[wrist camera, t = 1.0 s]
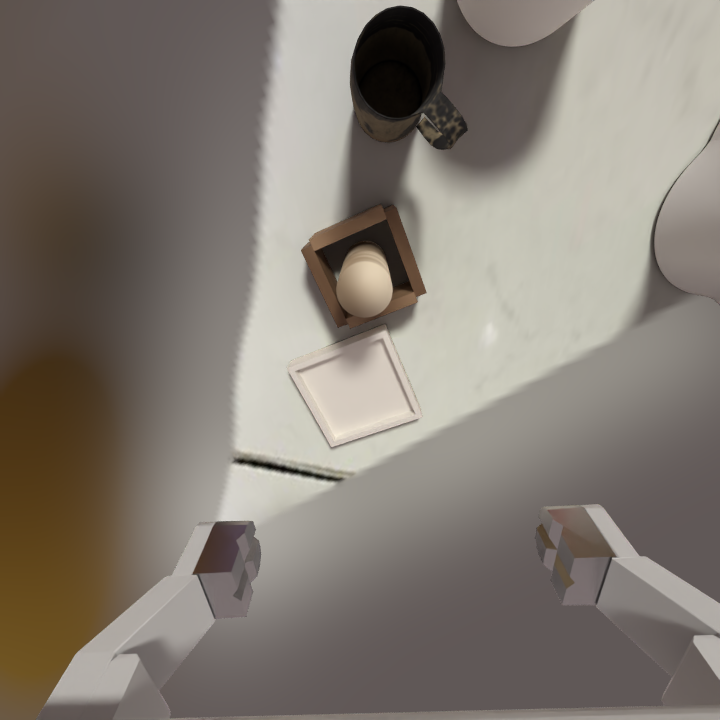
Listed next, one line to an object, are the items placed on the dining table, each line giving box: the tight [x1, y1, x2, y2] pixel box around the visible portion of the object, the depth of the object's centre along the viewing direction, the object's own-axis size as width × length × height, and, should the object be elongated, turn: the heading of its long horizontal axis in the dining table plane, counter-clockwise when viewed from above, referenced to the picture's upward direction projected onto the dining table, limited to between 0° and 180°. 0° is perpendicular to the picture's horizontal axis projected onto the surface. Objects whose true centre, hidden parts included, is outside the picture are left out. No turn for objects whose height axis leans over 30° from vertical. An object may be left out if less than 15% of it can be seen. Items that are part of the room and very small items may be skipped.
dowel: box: [336, 241, 393, 318], centre depth 31 cm, size 4×4×10 cm
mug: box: [350, 6, 468, 150], centre depth 25 cm, size 8×6×12 cm
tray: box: [287, 324, 423, 447], centre depth 41 cm, size 11×11×2 cm
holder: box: [301, 204, 427, 329], centre depth 34 cm, size 8×8×4 cm
